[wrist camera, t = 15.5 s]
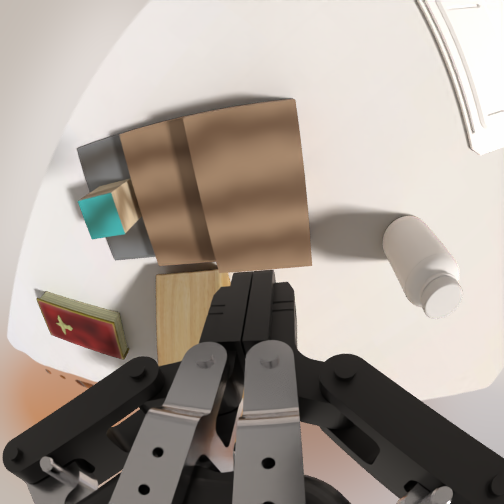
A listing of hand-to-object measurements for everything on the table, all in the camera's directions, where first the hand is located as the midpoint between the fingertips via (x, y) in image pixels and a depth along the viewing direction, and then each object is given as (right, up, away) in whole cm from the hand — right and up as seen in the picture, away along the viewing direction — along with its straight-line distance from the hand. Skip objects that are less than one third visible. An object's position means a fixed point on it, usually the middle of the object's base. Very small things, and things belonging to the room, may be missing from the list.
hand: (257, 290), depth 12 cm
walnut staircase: (-9, +10, +29) cm, 32 cm away
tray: (+38, +31, +12) cm, 51 cm away
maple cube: (-21, +6, +25) cm, 33 cm away
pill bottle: (+23, +4, +29) cm, 37 cm away
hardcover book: (-37, -13, +47) cm, 61 cm away
